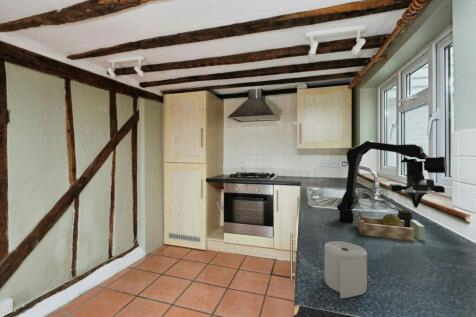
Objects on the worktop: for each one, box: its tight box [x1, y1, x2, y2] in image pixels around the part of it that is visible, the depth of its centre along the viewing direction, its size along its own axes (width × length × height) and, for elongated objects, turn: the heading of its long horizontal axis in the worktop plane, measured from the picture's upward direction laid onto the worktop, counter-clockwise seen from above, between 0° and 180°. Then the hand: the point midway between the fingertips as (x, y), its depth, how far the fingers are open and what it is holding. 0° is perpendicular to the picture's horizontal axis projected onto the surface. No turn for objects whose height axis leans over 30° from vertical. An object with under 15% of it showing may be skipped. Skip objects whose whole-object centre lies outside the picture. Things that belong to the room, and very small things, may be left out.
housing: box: [356, 211, 415, 241], centre depth 103 cm, size 20×13×8 cm
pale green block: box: [410, 219, 426, 242], centre depth 98 cm, size 2×10×6 cm, turn 158°
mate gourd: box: [395, 206, 414, 228], centre depth 111 cm, size 7×8×10 cm
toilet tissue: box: [323, 240, 368, 299], centre depth 61 cm, size 11×12×10 cm
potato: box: [382, 213, 403, 227], centre depth 102 cm, size 8×13×8 cm, turn 140°
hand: (415, 207), depth 97 cm, fingers closed
